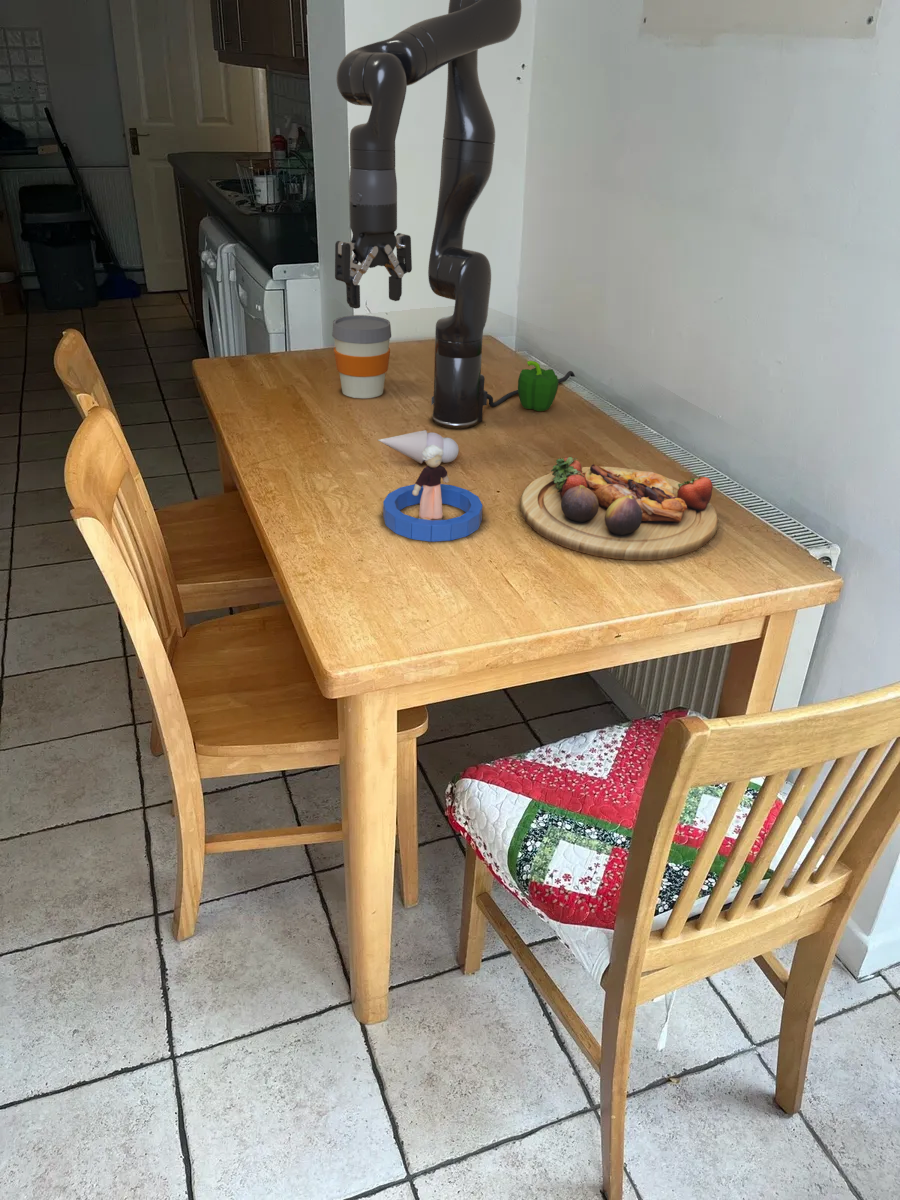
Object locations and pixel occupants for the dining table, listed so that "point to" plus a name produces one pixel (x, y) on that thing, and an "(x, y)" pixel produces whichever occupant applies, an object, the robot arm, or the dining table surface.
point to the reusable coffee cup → (362, 354)
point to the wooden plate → (620, 511)
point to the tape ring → (433, 528)
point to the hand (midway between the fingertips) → (374, 303)
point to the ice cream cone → (422, 445)
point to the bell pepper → (537, 387)
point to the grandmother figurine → (431, 484)
